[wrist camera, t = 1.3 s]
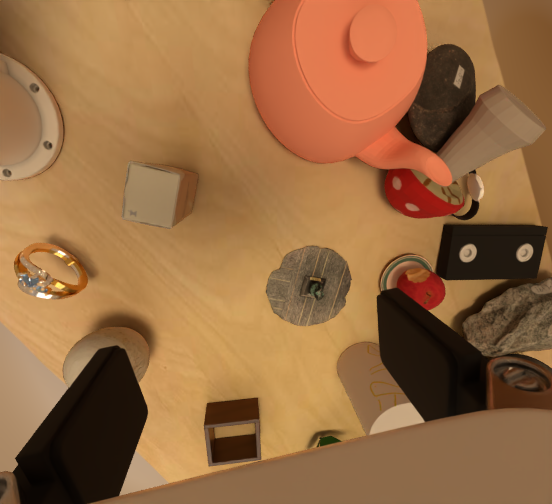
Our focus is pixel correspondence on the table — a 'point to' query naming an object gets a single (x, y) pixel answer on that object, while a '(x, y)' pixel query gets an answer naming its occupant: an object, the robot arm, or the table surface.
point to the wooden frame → (236, 446)
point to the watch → (473, 195)
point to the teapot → (343, 80)
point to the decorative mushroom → (466, 154)
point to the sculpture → (309, 286)
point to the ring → (42, 279)
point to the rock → (513, 321)
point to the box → (158, 194)
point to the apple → (414, 280)
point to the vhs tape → (491, 252)
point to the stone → (443, 96)
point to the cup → (374, 390)
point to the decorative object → (102, 339)
